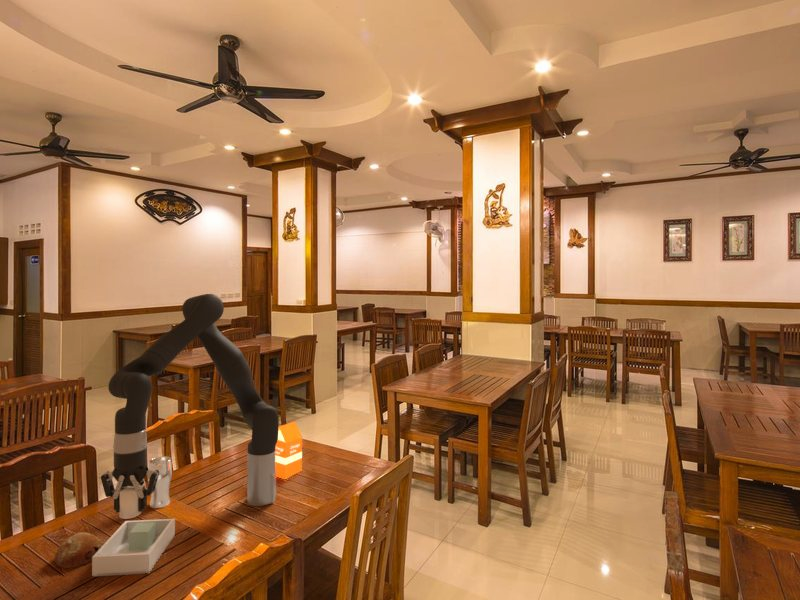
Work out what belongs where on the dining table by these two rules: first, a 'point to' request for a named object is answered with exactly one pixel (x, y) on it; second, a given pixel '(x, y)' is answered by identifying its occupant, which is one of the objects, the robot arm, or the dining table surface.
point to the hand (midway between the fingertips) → (130, 510)
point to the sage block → (142, 536)
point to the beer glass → (161, 481)
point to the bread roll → (77, 550)
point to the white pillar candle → (129, 503)
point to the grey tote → (124, 562)
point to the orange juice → (288, 451)
